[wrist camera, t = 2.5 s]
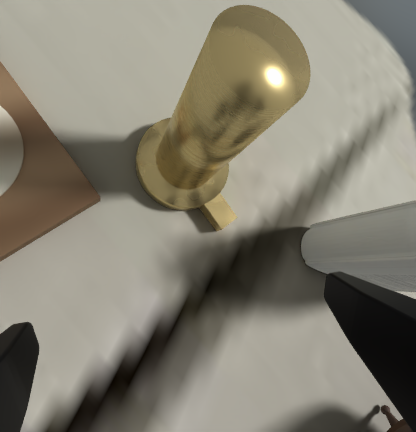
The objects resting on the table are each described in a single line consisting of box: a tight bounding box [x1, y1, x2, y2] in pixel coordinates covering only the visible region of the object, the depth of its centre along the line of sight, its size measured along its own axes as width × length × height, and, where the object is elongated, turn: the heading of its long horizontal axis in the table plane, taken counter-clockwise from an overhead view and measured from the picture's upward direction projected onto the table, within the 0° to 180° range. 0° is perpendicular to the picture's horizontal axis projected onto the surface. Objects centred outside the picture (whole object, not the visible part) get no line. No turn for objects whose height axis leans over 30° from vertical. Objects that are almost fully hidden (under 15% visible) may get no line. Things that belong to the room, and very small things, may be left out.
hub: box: [136, 5, 310, 231], centre depth 17 cm, size 9×7×12 cm
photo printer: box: [301, 201, 416, 292], centre depth 21 cm, size 10×4×12 cm, turn 75°
